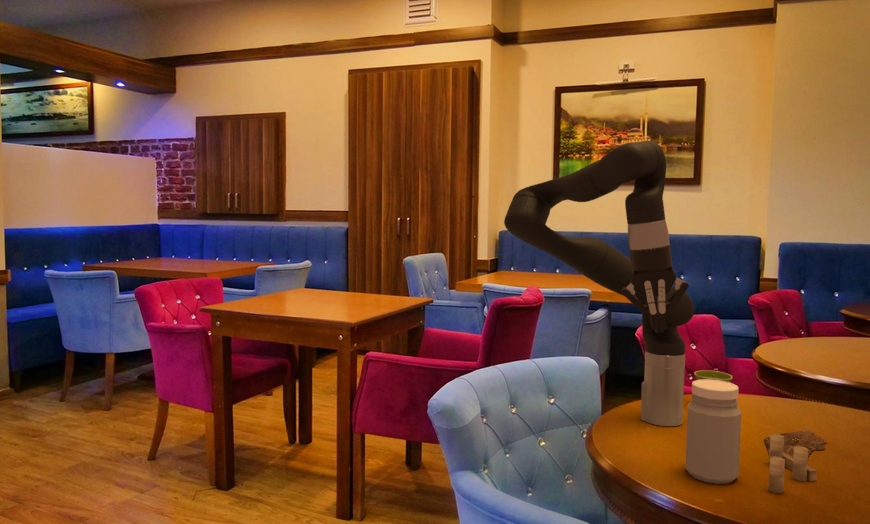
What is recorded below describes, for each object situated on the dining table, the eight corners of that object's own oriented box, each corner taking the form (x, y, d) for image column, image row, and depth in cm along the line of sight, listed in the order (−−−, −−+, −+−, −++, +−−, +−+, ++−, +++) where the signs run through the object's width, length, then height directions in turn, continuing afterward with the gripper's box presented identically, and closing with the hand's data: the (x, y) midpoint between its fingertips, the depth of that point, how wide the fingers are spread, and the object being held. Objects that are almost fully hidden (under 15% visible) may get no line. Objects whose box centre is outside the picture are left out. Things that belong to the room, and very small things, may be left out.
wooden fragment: (801, 467, 129) (801, 462, 129) (745, 452, 137) (745, 447, 137) (840, 439, 146) (840, 434, 146) (788, 427, 154) (789, 423, 154)
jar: (712, 489, 118) (716, 393, 116) (673, 469, 127) (676, 380, 125) (750, 480, 122) (754, 388, 120) (710, 462, 131) (713, 376, 129)
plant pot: (731, 404, 172) (732, 372, 171) (731, 413, 163) (732, 380, 163) (693, 399, 176) (695, 368, 175) (692, 409, 167) (693, 376, 167)
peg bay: (774, 493, 116) (775, 461, 116) (717, 456, 134) (718, 428, 134) (833, 490, 117) (835, 459, 117) (769, 453, 136) (770, 426, 135)
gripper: (614, 251, 122) (625, 339, 123) (687, 242, 118) (698, 333, 120) (613, 247, 129) (624, 330, 130) (682, 238, 125) (693, 324, 127)
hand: (659, 331), depth 125 cm, fingers closed
